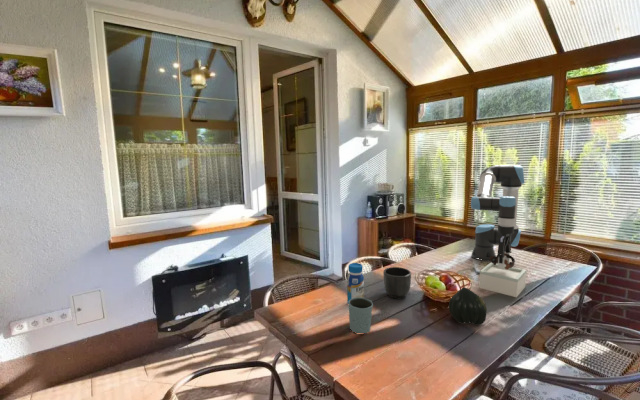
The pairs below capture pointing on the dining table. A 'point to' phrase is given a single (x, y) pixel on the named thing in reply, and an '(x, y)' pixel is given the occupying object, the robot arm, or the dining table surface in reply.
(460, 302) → the squash
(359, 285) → the beverage bottle
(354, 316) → the green tumbler cup
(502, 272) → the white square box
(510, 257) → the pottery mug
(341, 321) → the dining table surface
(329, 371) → the dining table surface
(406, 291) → the planter
